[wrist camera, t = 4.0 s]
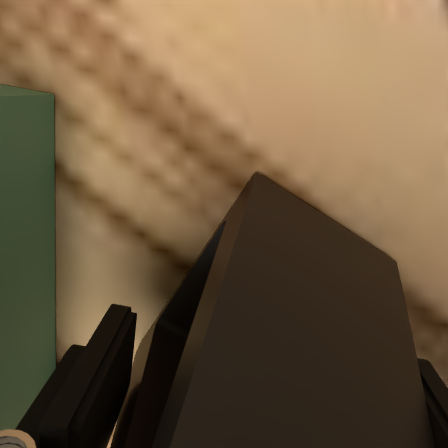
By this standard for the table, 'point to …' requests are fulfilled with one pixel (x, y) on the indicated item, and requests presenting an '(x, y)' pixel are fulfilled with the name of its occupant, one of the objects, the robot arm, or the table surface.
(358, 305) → the phone stand
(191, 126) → the table surface
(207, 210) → the table surface
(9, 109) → the green block
